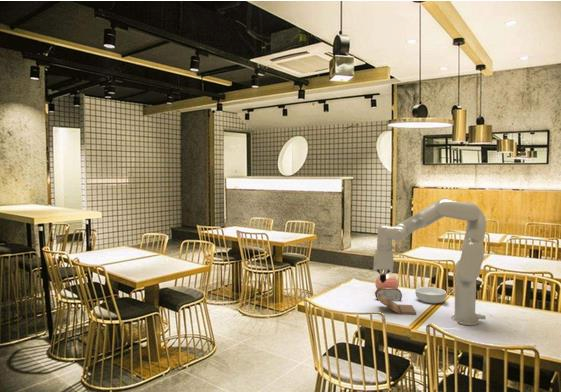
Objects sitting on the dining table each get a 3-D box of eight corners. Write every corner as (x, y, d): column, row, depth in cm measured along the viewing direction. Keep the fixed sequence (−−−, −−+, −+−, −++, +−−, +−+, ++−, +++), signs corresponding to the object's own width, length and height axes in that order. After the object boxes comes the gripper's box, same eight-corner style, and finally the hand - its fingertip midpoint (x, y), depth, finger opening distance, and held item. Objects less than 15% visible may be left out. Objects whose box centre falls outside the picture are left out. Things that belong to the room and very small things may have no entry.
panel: (396, 306, 222) (397, 304, 222) (399, 314, 210) (401, 311, 210) (378, 295, 223) (379, 293, 223) (380, 302, 211) (382, 300, 211)
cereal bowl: (427, 296, 245) (427, 284, 245) (452, 303, 231) (452, 291, 231) (408, 301, 236) (409, 289, 235) (433, 309, 222) (433, 296, 221)
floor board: (412, 309, 221) (412, 304, 221) (417, 317, 208) (417, 312, 208) (371, 307, 224) (371, 302, 224) (374, 315, 211) (374, 310, 211)
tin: (401, 301, 234) (401, 287, 234) (402, 303, 231) (402, 289, 231) (374, 300, 236) (375, 286, 235) (375, 302, 233) (375, 288, 232)
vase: (371, 294, 249) (372, 266, 248) (380, 289, 260) (380, 262, 259) (393, 298, 241) (393, 269, 240) (401, 292, 252) (401, 265, 251)
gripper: (397, 247, 218) (396, 281, 219) (369, 246, 220) (368, 279, 221) (399, 250, 210) (398, 284, 212) (370, 248, 212) (369, 283, 213)
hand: (382, 281), depth 216 cm, fingers closed
